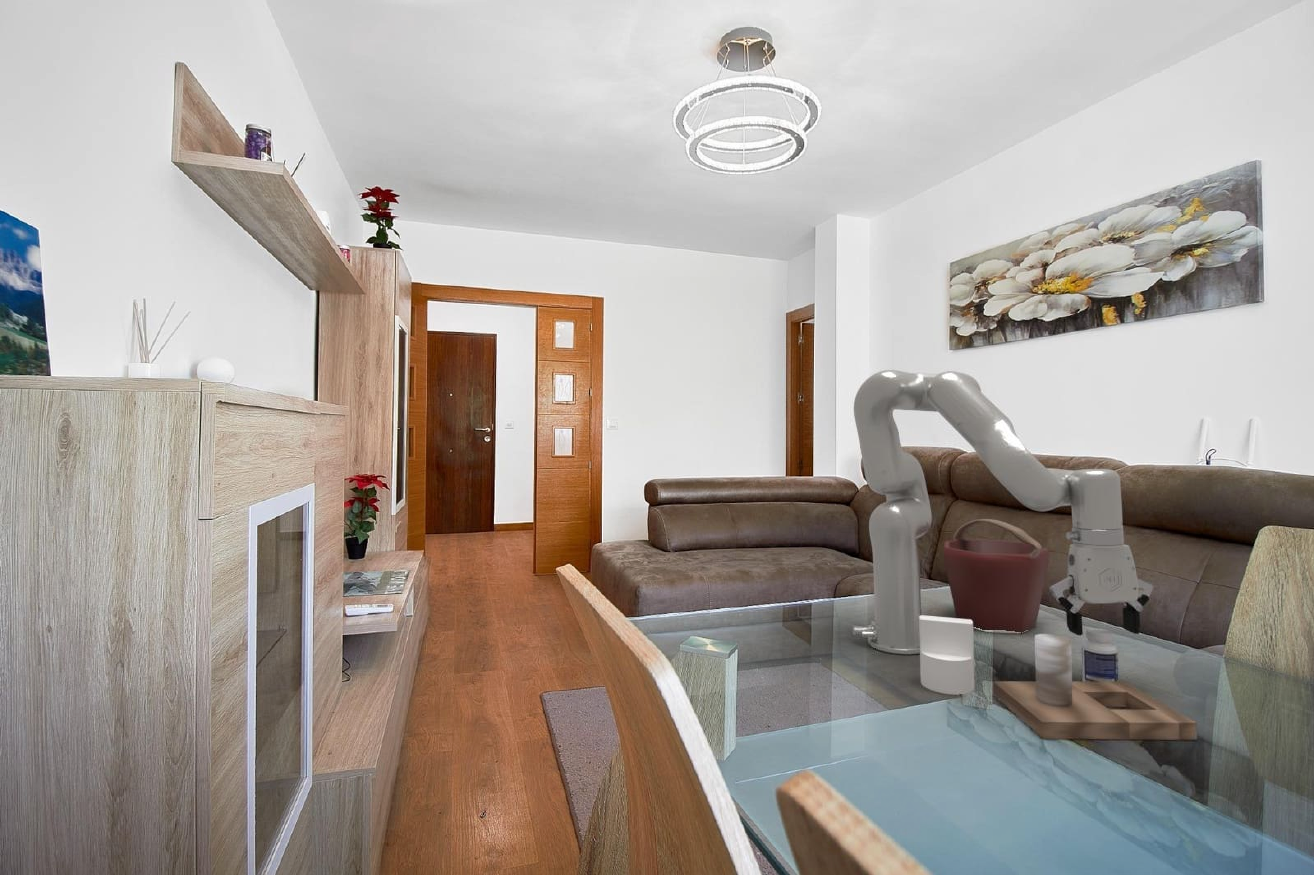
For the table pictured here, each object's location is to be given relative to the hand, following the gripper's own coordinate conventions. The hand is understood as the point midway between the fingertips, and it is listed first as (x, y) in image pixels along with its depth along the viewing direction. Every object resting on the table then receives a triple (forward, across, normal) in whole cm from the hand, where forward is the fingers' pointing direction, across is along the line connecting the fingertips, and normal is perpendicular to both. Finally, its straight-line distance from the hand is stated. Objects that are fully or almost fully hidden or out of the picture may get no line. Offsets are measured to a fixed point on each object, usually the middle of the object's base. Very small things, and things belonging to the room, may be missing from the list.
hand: (1103, 632), depth 115 cm
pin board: (+10, -11, -12) cm, 19 cm away
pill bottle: (+10, -1, +1) cm, 10 cm away
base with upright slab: (+9, -28, +1) cm, 29 cm away
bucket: (+9, -3, +39) cm, 40 cm away
